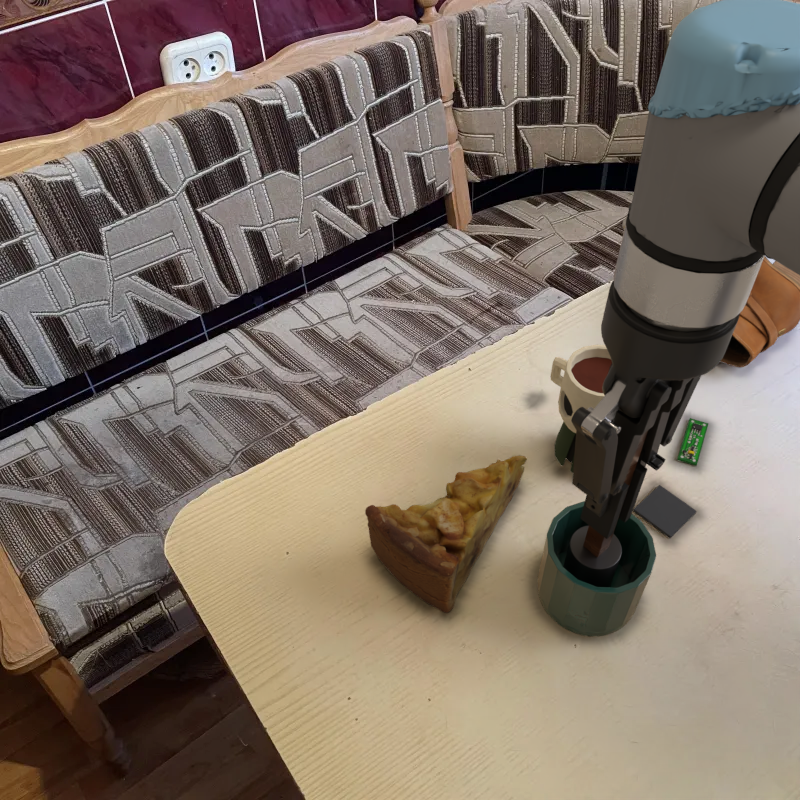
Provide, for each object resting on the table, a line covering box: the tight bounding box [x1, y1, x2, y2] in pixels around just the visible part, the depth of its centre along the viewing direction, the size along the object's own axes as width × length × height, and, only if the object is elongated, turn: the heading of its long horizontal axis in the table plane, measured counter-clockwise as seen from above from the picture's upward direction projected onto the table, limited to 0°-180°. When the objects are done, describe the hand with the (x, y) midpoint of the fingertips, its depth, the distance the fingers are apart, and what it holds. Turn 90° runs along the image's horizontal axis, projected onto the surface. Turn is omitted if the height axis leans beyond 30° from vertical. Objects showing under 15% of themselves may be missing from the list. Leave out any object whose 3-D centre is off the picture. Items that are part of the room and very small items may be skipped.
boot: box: [719, 256, 800, 368], centre depth 95 cm, size 24×9×19 cm
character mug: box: [550, 344, 612, 474], centre depth 76 cm, size 11×7×13 cm, turn 46°
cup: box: [537, 500, 657, 637], centre depth 67 cm, size 9×9×8 cm
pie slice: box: [364, 455, 528, 614], centre depth 72 cm, size 18×10×8 cm, turn 134°
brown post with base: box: [563, 431, 648, 587], centre depth 61 cm, size 4×4×22 cm
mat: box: [632, 484, 697, 539], centre depth 76 cm, size 4×4×1 cm
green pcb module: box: [676, 417, 710, 467], centre depth 82 cm, size 6×1×2 cm
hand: (605, 517), depth 62 cm, fingers closed on brown post with base, 2 cm apart
